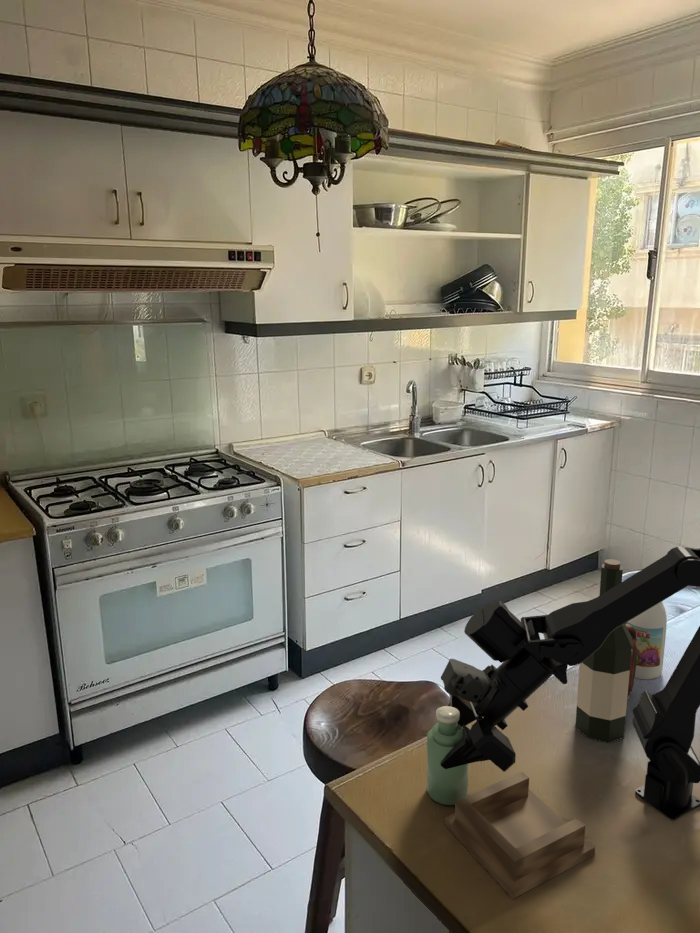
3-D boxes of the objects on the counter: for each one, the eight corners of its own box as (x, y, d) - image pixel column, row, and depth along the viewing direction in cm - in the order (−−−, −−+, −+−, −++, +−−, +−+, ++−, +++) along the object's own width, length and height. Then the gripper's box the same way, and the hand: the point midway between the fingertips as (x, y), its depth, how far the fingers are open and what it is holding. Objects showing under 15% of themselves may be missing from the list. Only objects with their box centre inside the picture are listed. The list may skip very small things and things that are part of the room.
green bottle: (451, 771, 105) (451, 696, 102) (476, 795, 100) (477, 717, 97) (419, 785, 103) (418, 709, 100) (443, 810, 98) (443, 730, 94)
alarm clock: (608, 678, 131) (613, 606, 127) (635, 684, 129) (641, 611, 125) (598, 708, 122) (604, 631, 118) (627, 715, 119) (634, 637, 116)
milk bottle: (626, 656, 139) (634, 563, 134) (666, 668, 134) (676, 573, 129) (613, 672, 133) (621, 576, 128) (655, 685, 128) (664, 586, 123)
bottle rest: (521, 789, 102) (522, 765, 101) (594, 854, 90) (596, 827, 89) (444, 824, 95) (445, 799, 94) (512, 899, 83) (513, 870, 82)
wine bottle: (634, 742, 112) (649, 571, 105) (582, 742, 112) (594, 572, 105) (616, 712, 120) (629, 552, 113) (568, 712, 120) (578, 552, 113)
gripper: (461, 616, 105) (391, 684, 107) (493, 682, 87) (408, 762, 89) (510, 659, 107) (440, 725, 109) (551, 732, 89) (467, 810, 91)
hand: (438, 752), depth 100 cm, fingers closed on green bottle, 6 cm apart
